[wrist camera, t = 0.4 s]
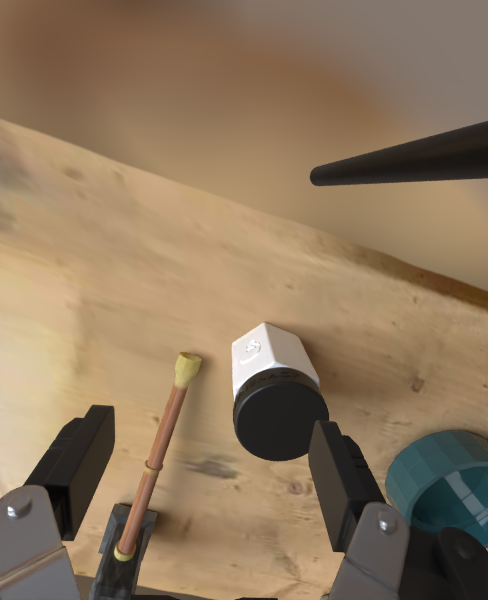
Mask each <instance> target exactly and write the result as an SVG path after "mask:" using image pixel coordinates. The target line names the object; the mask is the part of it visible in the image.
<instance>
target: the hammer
mask: <svg viewBox="0 0 488 600" xmlns="http://www.w3.org/2000/svg"><path fill="white" fill-rule="evenodd" d="M201 361H202V359H201V358H200V357H198V356H196V355H194V354H191V353H187V352H180V354H179V357H178V360H177V363H176V366H175V375H176V379H175V382H174V385H173V388H172V391H171V394H170V397H169V400H168V403H167V406H166V409H165V412H164V414H163V417H162V420H161V423H160V426H159V429H158V432H157V435H156V438H155V441H154V444H153V447H152V450H151V452H150V455H149V458H148V460H146V462H145V470H144V473H143V476H142V479H141V482H140V485H139V488H138V490H137V493H136V496H135V499H134V502H133V505H132V507H129V506H124V505H120V504H115V505H114V507H113V510H112V512H111V515H110V518H109V521H108V524H107V527H106V530H105V534H104V537H103V540H102V543H101V546H100V549H99V552H98V553H101V554H103V556H102V559H101V562H100V565H99V568H98V571H97V574H96V577H95V580H94V583H93V585H92V588H91V592H90V594H89V597H88V600H130V598H131V595H135V590H136V585H137V580H138V576H139V571H140V566H141V561H142V560H143V557H144V554H145V551H146V548H147V546H148V543H149V540H150V537H151V534H152V531H153V528H154V525H155V522H156V517H157V513H156V512H151V511H147V507H148V504H149V501H150V498H151V495H152V492H153V489H154V486H155V483H156V480H157V477H158V474H159V471H161V470H162V468H163V464H162V463H163V460H164V457H165V454H166V451H167V448H168V445H169V442H170V439H171V436H172V433H173V430H174V427H175V424H176V421H177V418H178V415H179V412H180V410H181V407H182V404H183V401H184V398H185V395H186V392H187V389H188V386H189V383H190V382H191V381H192V380H193V378H194V377H195V376H196V375H197V373H198V370H199V367H200V364H201Z"/></svg>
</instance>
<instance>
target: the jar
mask: <svg viewBox="0 0 488 600" xmlns="http://www.w3.org/2000/svg"><path fill="white" fill-rule="evenodd" d="M232 374H233V394H234V409H233V422H234V427H235V432H236V435H237V438H238V440H239V442H240V443H241V444H242V446H243V447H244V448H245V449H246V450H247V451H249V452H250V453H251V454H253V455H255V456H257V457H259V458H262V459H265V460H270V461H287V460H292V459H296V458H299V457H301V456H303V455H305V454H307V453H309V447H310V443H311V438H312V434H313V429H314V425H315V422H316V421H317V420H320V421H329V412H328V408H327V405H326V403H325V401H324V398H323V396H322V394H321V392H320V390H319V378H318V376H317V374H316V372H315V370H314V367H313V365H312V363H311V361H310V359H309V357H308V355H307V353H306V351H305V349H304V347H303V345H302V343H301V341H300V339H299V337H298V336H297V335H294V334H292V333H289V332H287V331H285V330H282V329H280V328H277V327H275V326H272V325H270V324H268V323H265V322H263V323H261V324H260V325H258V326H257V327H255V328H254V329H252V330H251V331H249V332H248V333H246V334H245V335H243V336H242V337H240V338H239V339H237V340H236V341H234V342H233V343H232Z"/></svg>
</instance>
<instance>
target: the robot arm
mask: <svg viewBox="0 0 488 600" xmlns="http://www.w3.org/2000/svg"><path fill="white" fill-rule="evenodd" d="M114 443H115V414H114V407H113V406H106V405H92V406H91V408H90V409H89V411H88V412H87V414H86V416H85V417H84V418H74V419H73V420H72V421H70V422H69V423H68V424H66V425H65V426H64V427H63V428H62V430H61V431H60V432H59V434H58V435H57V437H56V439H55V440H54V441H53V443H52V444H51V445H50V447H49V450H47V451H46V453H45V454H44V456H43V457H42V459H41V460H40V461H39V463H38V464H37V466H36V467H35V469H34V470H33V472H32V473H31V475H30V476H29V477H28V479H27V480H26V482H25V483H24V485H23V486H22V487H19V488H16V489H14V490H12V491H10V492H9V493H7V494H6V495H4V496H3V497H2V498H1V499H0V600H81V596H80V592H79V589H78V585H77V582H76V579H75V575H74V572H73V568H72V565H71V562H70V558H69V555H68V552H67V549H66V547H65V546H63V544H62V541H74V539H75V537H76V534H77V532H78V530H79V528H80V525H81V523H82V521H83V518H84V516H85V514H86V512H87V509H88V507H89V505H90V503H91V500H92V498H93V496H94V493H95V491H96V489H97V487H98V484H99V482H100V480H101V477H102V475H103V473H104V471H105V468H106V466H107V464H108V462H109V459H110V457H111V455H112V452H113V448H114ZM308 460H309V467H310V471H311V474H312V478H313V481H314V485H315V489H316V492H317V496H318V499H319V503H320V506H321V510H322V514H323V517H324V521H325V524H326V528H327V531H328V535H329V539H330V542H331V546H332V549H333V552H344V553H345V556H344V558H343V561H342V563H341V565H340V568H339V571H338V573H337V576H336V578H335V581H334V583H333V586H332V588H331V591H330V593H329V596H328V599H327V600H488V551H487V550H486V548H485V547H484V546H483V545H482V544H481V543H480V542H479V541H478V540H477V539H476V538H475V537H473V536H472V535H470V534H469V533H467V532H466V531H464V530H461V529H459V528H456V527H444V528H442V529H441V530H440V532H439V534H438V536H437V535H434V534H431V533H428V532H425V531H422V530H419V529H417V528H414V527H412V526H410V525H408V523H407V521H406V520H405V518H404V517H403V516H402V515H401V514H400V513H399V512H398V511H397V510H396V509H395V508H393V507H392V506H390V505H388V504H387V503H386V501H385V499H384V497H383V495H382V493H381V491H380V489H379V487H378V485H377V483H376V481H375V479H374V477H373V475H372V473H371V470H370V469H369V468H368V464H367V462H366V460H365V459H364V456H363V454H362V452H361V450H360V448H359V446H358V445H357V444H356V443H355V442H354V441H353V440H352V439H351V438H350V437H349V436H345V435H342V434H341V432H340V430H339V427H338V425H337V423H336V422H334V421H320V420H317V421H316V422H315V425H314V429H313V434H312V438H311V443H310V447H309V454H308ZM130 600H179V599H176V598H174V597H171V596H166V595H131V598H130ZM236 600H278V598H244V597H242V598H239V599H236Z"/></svg>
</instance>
